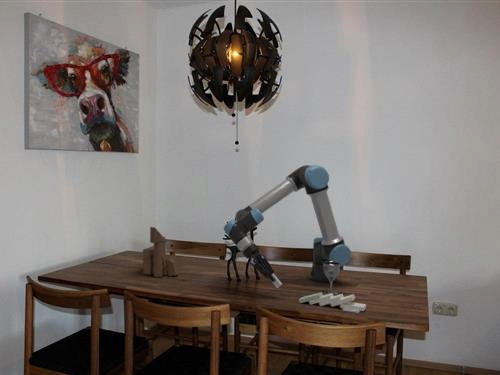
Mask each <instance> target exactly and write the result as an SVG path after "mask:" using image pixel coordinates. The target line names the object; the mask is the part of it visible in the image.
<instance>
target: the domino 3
mask: <svg viewBox="0 0 500 375" xmlns="http://www.w3.org/2000/svg"><path fill="white" fill-rule="evenodd" d="M343 294H344V293H340V294H338V295H333V296H334V297H332V298H331V299H329V300H326V301H322V302H318V305H319V307H323V306H326V305H330V303H333V302H336V301H340V300H341V299H342V298H344V297H345V296H344V295H343Z"/></svg>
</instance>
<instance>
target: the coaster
mask: <svg viewBox="0 0 500 375" xmlns="http://www.w3.org/2000/svg"><path fill="white" fill-rule="evenodd" d="M342 311H343V312H349V313H357V314H360V312H361V311H359V310H352V309H346V308H342Z"/></svg>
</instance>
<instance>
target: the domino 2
mask: <svg viewBox="0 0 500 375" xmlns="http://www.w3.org/2000/svg"><path fill="white" fill-rule="evenodd" d="M334 296H335V295H333V293H330V294H327V295H326V294H323V296H322V297H321V298H319V299H315V300H311V301H308V303H309V305H314V304H319V302H322V301H326V300H329V299H331V298H332V297H334Z"/></svg>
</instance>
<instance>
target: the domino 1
mask: <svg viewBox="0 0 500 375" xmlns="http://www.w3.org/2000/svg"><path fill="white" fill-rule="evenodd" d="M323 295H324V293H323V291H322V292H321V291H320V292H317V293H313V294H309V295H305V296H302V297H301V298H299V299H298V303H299V304H302V303H306V302H309V301H311V300H315V299H319V298H321V297H322V296H323Z"/></svg>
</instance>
